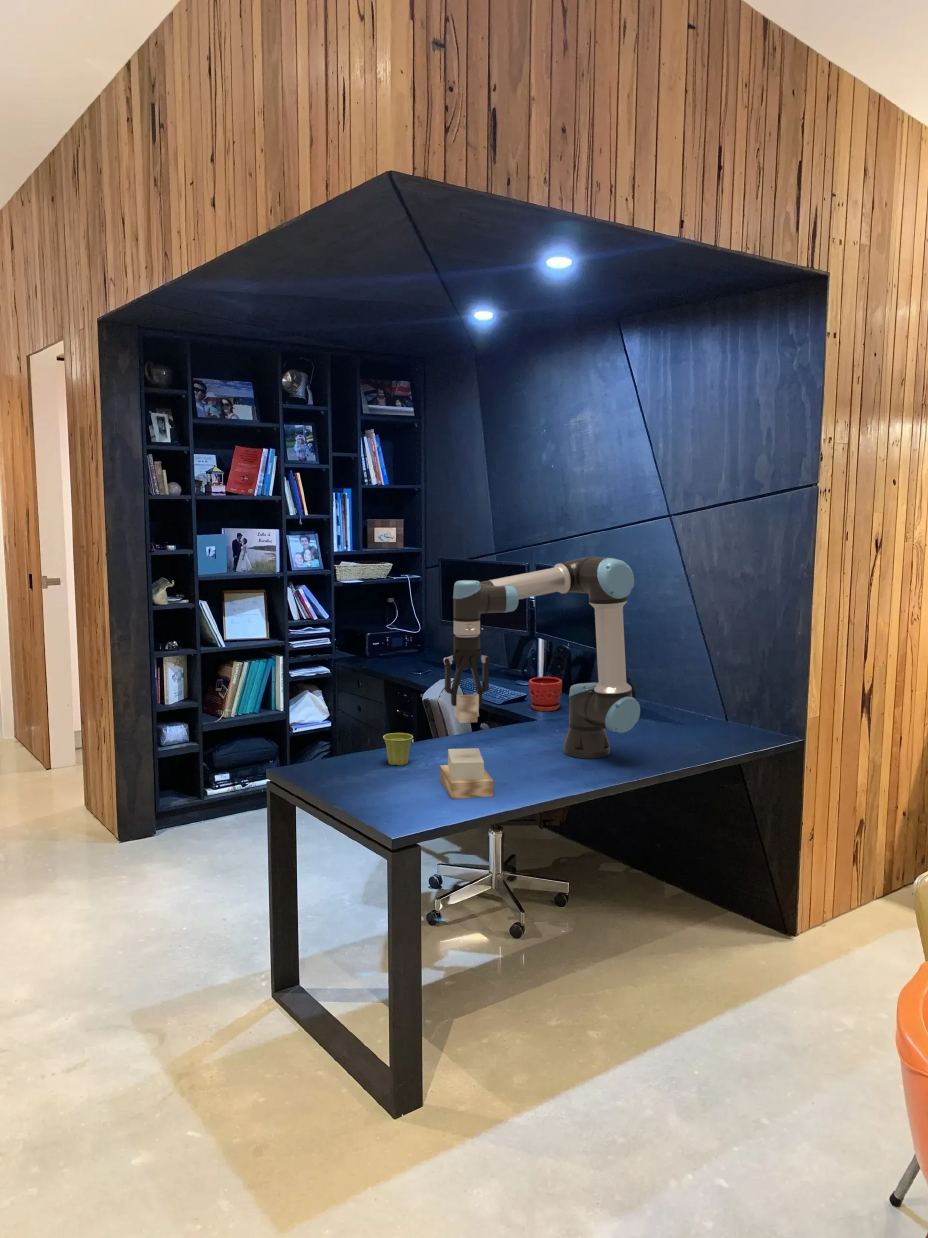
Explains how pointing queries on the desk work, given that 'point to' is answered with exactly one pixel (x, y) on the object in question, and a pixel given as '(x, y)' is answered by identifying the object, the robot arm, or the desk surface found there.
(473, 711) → the ash block
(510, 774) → the desk surface
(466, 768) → the middle block
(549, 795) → the desk surface
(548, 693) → the plant pot
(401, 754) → the plant pot
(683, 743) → the desk surface
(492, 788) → the bottom block
